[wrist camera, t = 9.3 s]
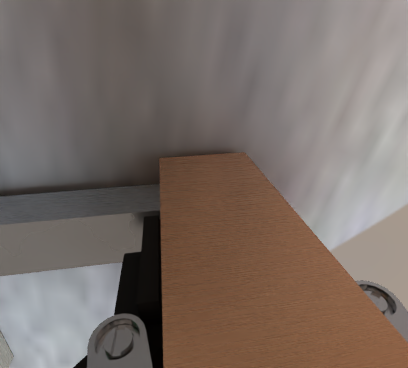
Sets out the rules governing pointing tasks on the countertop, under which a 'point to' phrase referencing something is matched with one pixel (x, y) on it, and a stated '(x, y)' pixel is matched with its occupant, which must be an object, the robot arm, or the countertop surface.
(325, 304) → the crook tool
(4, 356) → the l-shaped tool
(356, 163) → the countertop surface
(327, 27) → the countertop surface
